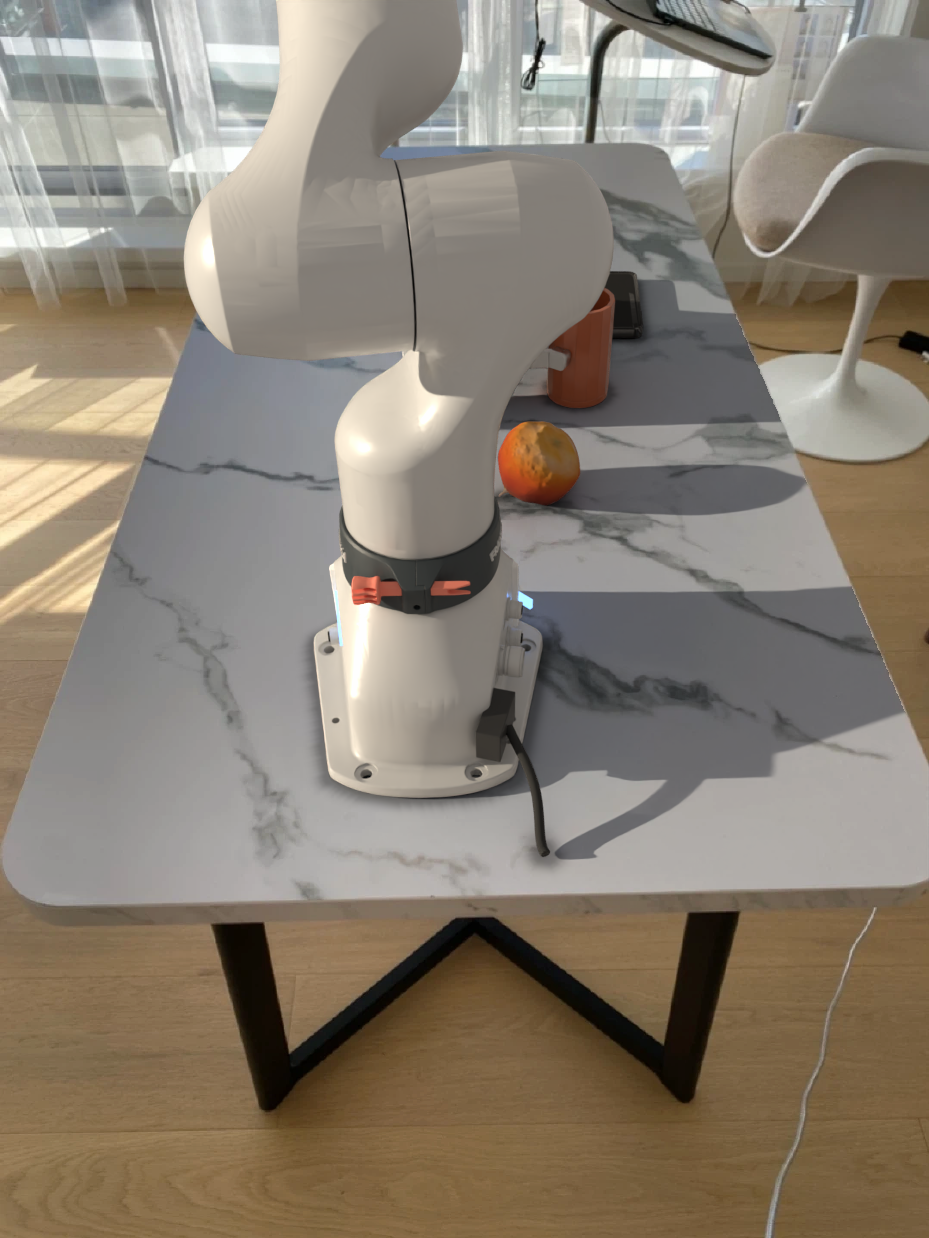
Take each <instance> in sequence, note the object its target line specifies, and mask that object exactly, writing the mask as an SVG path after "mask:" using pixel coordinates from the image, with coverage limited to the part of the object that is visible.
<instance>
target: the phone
mask: <svg viewBox="0 0 929 1238" xmlns="http://www.w3.org/2000/svg"><path fill="white" fill-rule="evenodd" d="M638 281H639V280H638V275H637V273H636V272H634V271H629V270H610V273H609V277H608V279H607V282H606V285H605V287H604V288H606V289H608V290H609V291H610V292H611V293H613V294H614V298H615V308H614V321H613V334H612V339H637V338H640V337H641V336H642V335H643V330H644V329H643V328H644V321H643V313H642V312H643V311H642V306H641V297H640V288H639V282H638Z"/></svg>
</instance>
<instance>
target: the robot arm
mask: <svg viewBox="0 0 929 1238" xmlns="http://www.w3.org/2000/svg"><path fill="white" fill-rule="evenodd" d="M275 5H276V17H277V31H278V52H279V53H278V54H279V73H278V74H279V75H278V82H277V83H278V84H277V89H276V93H275V98H274V101H273V105H272V108H271V111H270V112H269V115H268V118H267V121H266V123H265V125H264V127H263V129H262V131H261V133H260V134H259V136H258V138H257V139H256V141H255V143H254V144H253V146H252V147H251V148H250V150H249V151H248V153H247V154H246V155H245V157H243V159H242V160H241V161H240V163H239V164H238V165H237V166H236V167H235V168H234V169H233V170H232V171H231V172H230V173H229V174H228V175H227V176H226V177H225V178H223V179H222V180H221V181H220V182H218V183H217V184H216V185H215V186H214V187H212V188H211V189H209V190H208V192H207V193H206V194H205V195H204V197H203V198H202V199H201V201H200V203H199V204H198V206H197V207H196V209H195V211H194V213H193V216H192V218H191V220H190V223H189V226H188V229H187V232H186V237H185V242H184V251H183V267H184V269H183V270H184V279H185V282H186V287H187V290H188V294H189V296H190V300H191V303H192V305H193V306H194V309H195V311H196V313H197V314H198V316H199V318H200V320H201V321H202V323H203V324H204V325H205V327H206V328H207V330H208V331H209V332H210V333H211V334H212V336H213V337H214V338H215V339H216V340H217V341H219V343H221V344H222V345H223V347H225V348H226V349H228V350H229V351H230V352H231V353H233V354H234V355H239V356H246V357H247V356H248V357H255V358H256V357H257V358H265V359H274V360H286V361H287V360H289V361H300V362H313V361H322V360H323V361H324V360H331V359H343V358H350V357H361V356H370V355H379V354H389V353H398V352H402V351H408V352H407V353H406V354H405V355H404V356H403V357H401V358H400V359H399V360H398V361H397V362H396V363H395V364H393V365H392V366H390V367H389V368H388V369H386V370H385V371H383V372H382V373H380V374H378V375H377V376H375V377H374V378H372V379H371V380H369V381H368V382H366V383H365V384H364V385H362V386H361V387H360V388H359V389H358V390H357V391H356V392H355V394H353V396H352V397H351V399H350V400H349V401H348V403H347V405H346V406H345V407H344V409H343V411H342V413H341V415H340V417H339V419H338V422H337V424H336V428H335V432H334V451H335V458H336V459H335V460H336V465H337V466H336V467H337V473H338V481H339V490H340V496H341V497H340V498H341V503H342V504H341V507H340V510H339V515H338V516H339V517H338V518H339V520H338V523H339V525H338V526H339V528H338V542H339V551H340V556H339V557H338V558H337V559H335V560H334V561H333V563H332V564H330V565H329V567H328V569H329V575H330V582H331V588H332V594H333V595H332V596H333V601H334V607H335V614H336V620H337V622H335V623H332V624H330V625H327V627H324V628H323V629H321V630H320V631H318V632H317V633H316V634H315V635H314V637H313V655H314V662H315V663H314V664H315V670H316V680H317V688H318V696H319V704H320V705H319V707H320V713H321V721H322V730H323V739H324V740H323V741H324V748H325V757H326V763H327V764H326V765H327V771H328V774H329V776H330V778H331V779H332V780H333V781H335V782H337V783H338V784H341V785H343V786H344V787H347V788H350V789H351V790H355V791H358V792H362V793H366V794H370V795H377V796H383V797H393V798H411V799H412V798H414V799H415V798H417V799H424V798H445V797H454V796H455V797H456V796H463V795H467V794H473V793H477V792H481V791H485V790H488V789H492V788H494V787H496V786H499V785H500V784H503V783H504V782H506V781H508V780H510V779H512V778H513V777H514V776H515V774H516V772H517V769H518V765H519V763H520V765H521V768H522V770H523V772H524V774H525V777H526V780H527V781H526V782H527V784H528V787H529V791H530V796H531V801H532V802H531V803H532V812H533V825H534V839H535V845H536V849H537V853H538V854H539V856H540V857H542V858H546V857H547V856H549V855H550V854H551V850H550V849H549V847H548V844H547V837H546V827H545V826H546V824H545V810H544V802H543V796H542V795H543V794H542V791H541V786H540V783H539V779H538V777H537V773H536V771H535V768H534V765H533V763H532V761H531V759H530V757H529V755H528V753H527V751H526V749H525V747H524V745H523V743H524V737H525V733H526V728H527V724H528V718H529V714H530V709H531V705H532V699H533V696H534V695H533V694H534V691H535V687H536V686H535V685H536V681H537V676H538V672H539V667H540V662H541V657H542V652H543V648H544V643H543V635H542V633H541V632H540V631H539V629H538V628H536V627H534V626H532V625H530V624H528V623H526V622H524V621H522V620H521V619H522V618H523V611H524V607H525V608H527V609H528V610H531V609H533V607H534V605H533V604H534V599H533V598H531V597H529V596H528V595H526V594H524V593H523V592H521V591H520V581H519V579H520V578H519V573H520V571H519V570H520V569H519V563H518V562H516V561H515V560H514V559H513V558H512V556H509V555H508V554H507V553H506V552H505V551H504V549H503V548H501V547H502V543H501V541H502V538H503V537H502V535H503V524H502V523H503V522H502V517H501V511H500V505H499V502H498V500H497V497H496V496H495V481H496V480H495V479H496V478H495V477H496V476H495V475H496V462H497V450H498V442H499V434H500V428H501V425H502V424H501V423H502V420H503V416H504V414H505V411H506V409H507V406H508V404H509V402H510V400H511V398H512V396H513V394H514V392H515V391H516V389H517V387H518V385H519V384H520V383H521V381H522V379H523V378H524V377H525V375H526V373H527V372H528V371H529V370H530V369H532V370H533V369H547V368H548V367H549V368H553V369H556V370H559V371H562V370H564V369H565V368H566V367H567V366H568V365H569V364H570V363H571V359H570V358H571V352H570V351H569V350H568V349H563V348H561V347H558V346H556V347H555V348H553V349H548V346H549V345H550V344H551V343H552V342H553V341H554V340H556V339H557V338H558V337H559V336H560V335H562V334H563V333H564V332H565V331H567V330H568V329H569V328H571V327H572V326H573V325H575V324H576V323H578V322H579V321H581V320H582V319H583V318H585V317H586V315H587V314H588V313H589V312H590V310H591V309H592V308H593V307H594V305H595V304H596V302H597V301H598V299H599V297H600V295H601V293H602V291H603V289H604V287H605V285H606V282H607V279H608V277H609V273H610V271H611V269H612V264H613V259H614V249H615V248H614V247H615V245H614V243H615V242H614V240H615V239H614V227H613V221H612V216H611V213H610V210H609V207H608V204H607V201H606V199H605V197H604V194H603V193H602V191H601V189H600V187H599V186H598V184H597V183H596V182H595V180H594V179H593V177H592V176H591V175H590V174H589V172H588V171H587V170H586V169H585V168H584V167H583V166H581V164H579V163H578V161H576V160H573V159H568V158H562V157H555V156H549V155H543V154H535V153H527V152H525V153H524V152H518V151H510V150H509V151H508V150H494V151H483V152H472V153H470V152H469V153H461V154H448V155H437V156H436V155H435V156H427V157H426V156H425V157H415V158H414V157H413V158H403V159H393V158H387V157H382V155H383V153H384V152H385V151H386V150H387V149H388V148H389V147H390V146H391V145H392V144H394V143H395V142H396V141H398V140H399V139H401V138H402V137H404V136H405V135H407V134H409V133H411V132H412V131H413V130H415V129H416V128H418V127H420V125H422V124H423V123H425V122H426V121H427V120H429V118H430V117H432V115H433V114H435V113H436V111H438V109H439V108H440V107H441V106H442V105H443V103H444V102H445V100H447V98H448V97H449V95H450V93H451V92H452V90H453V88H454V86H455V85H456V82H457V80H458V77H459V75H460V72H461V67H462V63H463V54H464V44H463V37H462V29H461V22H460V16H459V15H460V14H459V10H458V2H457V0H275ZM476 775H478V777H474V776H476ZM367 776H370V777H367ZM364 777H367V778H364Z"/></svg>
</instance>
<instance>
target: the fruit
mask: <svg viewBox="0 0 929 1238" xmlns="http://www.w3.org/2000/svg"><path fill="white" fill-rule="evenodd" d="M497 463H498V465H497V466H498V472H499V476H500V479H501V483H502V486H503V490H502V491H500V493H498V497H499V498H500V497H502V496H503V495H505V494H509V495H510V496H512V497H514V498H516V499H517V500H520V501H521V502H524V503H529V504H535V505H541V506H545V507H546V506H550V505H553V504H555V503H557V502H559V501H560V500H562V499H563V498H564V497H565V496H566V495H567V494H568V493H569V492H570V491H571V490H572V489H573V488H574V486H575V485H576V483H577V481H578V480H579V478H580V476H581V464H580V457H579V452H578V450H577V447H576V444H575V442H574V440H573V439H572V437H571V436H570V435H569V434H568V433H567V432H566V431H565V430H563V429H562V428H559V427H557V426H555V425H554V424H553V423H551V422H548V421H524V422H521V423H519V424H517V425H516V426H515V427H513V428H512V429H511V430H509V431H508V433H507V434H506V436H505V438H504V439H503V441H502V443H501V445H500V447H499V449H498V453H497Z"/></svg>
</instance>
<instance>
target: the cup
mask: <svg viewBox="0 0 929 1238" xmlns="http://www.w3.org/2000/svg"><path fill="white" fill-rule="evenodd" d="M614 308H615V298H614V294H613V293H611V292H610V291H609V290H608V289H606V288H604V289H603V291H602V293H601V295H600V297H599V299H598V301H597V302H596V304H595V305H594V307H593V308H592V309H591V310H590V312H589V313H588V314H587V315H586V317H585V318H583V319H582V320H581V321H579V322H578V323H576V324H575V325H573V326H572V327H571V328H569V329H568V330H567V331H565V332H564V333H563V334H562V335H560V336H559V337H558V338H557V339H556V340H554V341H553V342H552V343H551V344H550V345H549V346H548V347H547V349H553V348H555V347H556V346H558V347H561V348H563V349H568V350H569V351H570V352H571V358H570V359H571V363H570V364H569V365H568V366H567V367H566V368H565V369H564V370H562V371H559V370H556V369H553V368H549V367H548V368H546V394H547V396H548V398H549V399H550V400H551V401H552V402H553V403H555V404H556V405H559V406H562V407H566V408H570V409H585V408H590V407H594V406H597V405H599V404H600V403H602V402H603V401H605V399H606V398H607V396H608V391H609V382H610V370H611V357H612V347H613V346H612V345H613V338H612V334H613V321H614Z"/></svg>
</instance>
